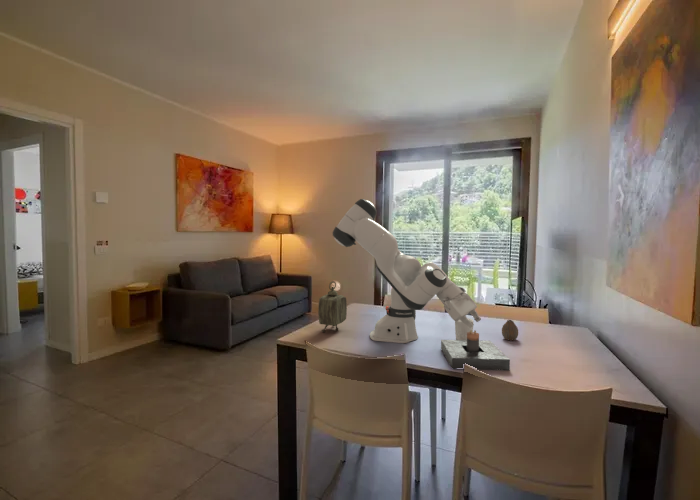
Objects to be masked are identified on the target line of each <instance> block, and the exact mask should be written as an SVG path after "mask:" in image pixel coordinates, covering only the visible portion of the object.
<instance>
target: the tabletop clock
mask: <svg viewBox="0 0 700 500" xmlns="http://www.w3.org/2000/svg"><path fill="white" fill-rule="evenodd" d="M333 283H334V286H331V285H332V284H333ZM336 287H337V282H336V281H334V280H333V281H331V282H329V285H328V288H329V291H328V292H327V294H325V295H324V294H323V295H322V296H320V298H319V300H318V310H317V311H318V323H319V325H324V328H322V330H321V332H322V333H323V332H324V333H326V329H327V328H328V327H329V326H331V327H333V326H335V331H337V332H339V330H340V329H339V327H338V325H340V324H342V323H344V322H345V321H346V320H347V316H348V315H347V310H348V308H347V305H348V304H347V302H348V301H347V297H345V295H343V294H338V291H337V290H335V289H336Z"/></svg>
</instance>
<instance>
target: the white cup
mask: <svg viewBox="0 0 700 500" xmlns="http://www.w3.org/2000/svg"><path fill="white" fill-rule="evenodd" d="M467 319H468V320H469V321H471V322H472V323H473V324H474V319H471V318H468V317H467ZM470 330H472V332H474V325H473V326H472V327H471V328H469V327H468V326H467V325H466V324H465V323H463V322H462V321H461V320H458V321H457V322H456V321H454V331H455V332H454V333H455V340H467V332H470Z"/></svg>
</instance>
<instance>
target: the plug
mask: <svg viewBox="0 0 700 500" xmlns="http://www.w3.org/2000/svg"><path fill="white" fill-rule="evenodd" d="M479 341H480V333H478V332H477V330H474V329H473V332H472V330H470V332H467V352H479Z"/></svg>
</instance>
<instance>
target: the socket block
mask: <svg viewBox="0 0 700 500" xmlns="http://www.w3.org/2000/svg"><path fill="white" fill-rule="evenodd" d="M440 341H441V342H440V349H442V350H441V351H442V353H443V355H444V357H445V358H447V359H446V361H447V363H448V364H449V366H450V365H451V366H450V367H452V368H463V364H465V363H466V364H468V365H470V366H473V367H475V368H477V369H480V371H481V370H483V371H507V372H508V371H510V370H511V369H510V367H511V366H510V365H511V362H510V361H511V359H510V358H509V357H508V356H507V355H505V354H504V352H503V351H501V350H500V348H498V347H497V345H496V344H494V343H493V342H492V341H491V340H479V352H467V340H456V339H441V340H440ZM452 368H451V369H452Z"/></svg>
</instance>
